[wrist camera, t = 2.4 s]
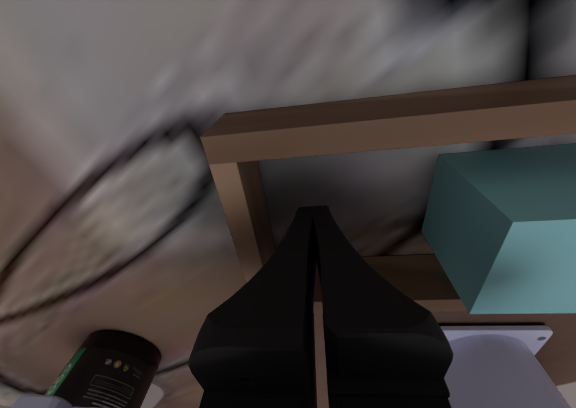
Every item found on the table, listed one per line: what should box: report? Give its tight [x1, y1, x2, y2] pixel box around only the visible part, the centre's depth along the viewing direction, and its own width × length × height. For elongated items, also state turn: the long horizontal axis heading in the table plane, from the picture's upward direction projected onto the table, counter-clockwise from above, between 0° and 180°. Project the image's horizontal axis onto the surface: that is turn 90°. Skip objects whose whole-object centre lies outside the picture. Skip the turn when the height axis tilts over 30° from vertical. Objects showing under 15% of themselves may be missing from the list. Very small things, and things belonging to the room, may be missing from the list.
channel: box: [200, 75, 576, 313], centre depth 11 cm, size 10×21×3 cm, turn 97°
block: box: [422, 143, 576, 314], centre depth 10 cm, size 4×6×5 cm
